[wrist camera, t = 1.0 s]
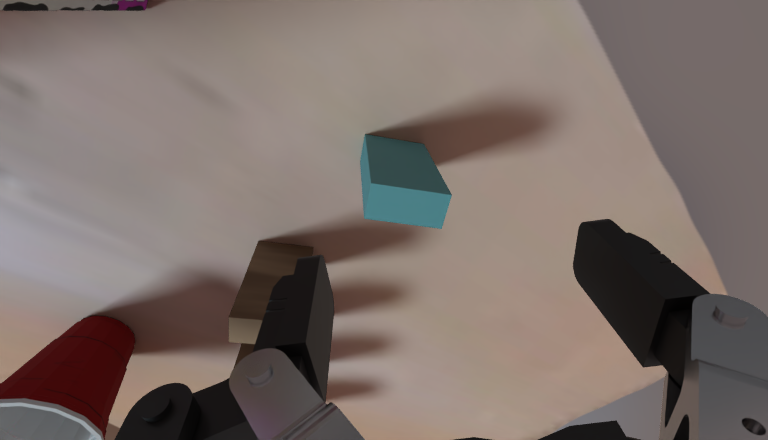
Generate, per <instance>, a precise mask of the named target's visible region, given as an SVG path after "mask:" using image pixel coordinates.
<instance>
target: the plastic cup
mask: <svg viewBox="0 0 768 440" xmlns="http://www.w3.org/2000/svg"><path fill="white" fill-rule="evenodd" d="M134 344H135V337H134V334H133V332H132V331H131V330H130V329H129V327H128V326H126V325H125V324H123V323H122V322H120V321H118V320H116V319H113V318H109V317H106V316H91V317H87V318H84V319H82V320H81V321H79V322H77V323H76V324H74V325H73V326H72V327H71V328H69V329H68V330H67V331H66V332H65V333H63V334H62V335H61V336H60V337H59V338H57V339H55V340H54V341H52V342H51V343H50V344H49V345H47V346H46V347H45V348H44V349H42V350H41V351H40V352H39V353H38V354H36V355H35V356H34V357H33V358H32V359H30V360H29V361H28V362H27V363H25V364H24V365H23V366H22V367H21V368H19V369H18V370H17V371H16V372H15V373H13V374H12V375H11V376H10V377H9V378H7V379H6V380H5V381H4V382H2V383H0V440H105V438H104V437H105V434H106V427H107V424H108V421H109V415H110V412H111V410H112V407H113V404H114V402H115V399H116V396H117V394H118V391H119V388H120V386H121V383H122V380H123V378H124V375H125V372H126V370H127V369H126V367H127V364H128V362H129V359H130V357H131V354H132V352H133V349H134Z"/></svg>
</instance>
